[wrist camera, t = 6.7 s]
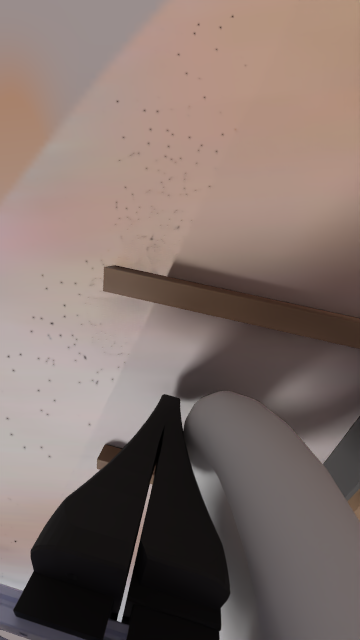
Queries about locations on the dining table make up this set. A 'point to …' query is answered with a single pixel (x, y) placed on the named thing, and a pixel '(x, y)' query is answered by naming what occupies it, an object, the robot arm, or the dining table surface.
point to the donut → (275, 524)
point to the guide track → (356, 447)
